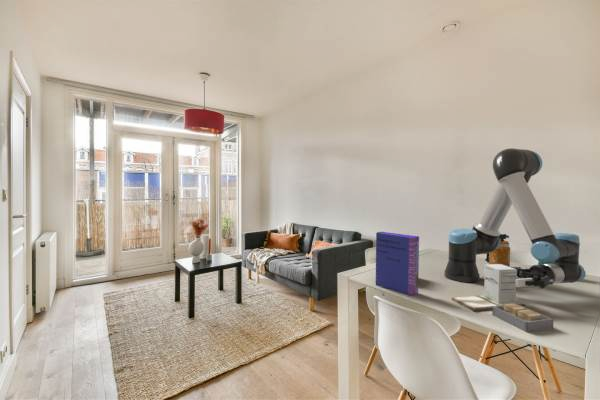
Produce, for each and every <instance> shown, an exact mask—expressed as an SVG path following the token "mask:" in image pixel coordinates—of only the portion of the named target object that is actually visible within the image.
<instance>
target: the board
mask: <svg viewBox="0 0 600 400" xmlns="http://www.w3.org/2000/svg"><path fill="white" fill-rule="evenodd" d="M451 301H453V302H455V303H457V304H458V305H461V306H463V307H464V308H467V309H468V310H470V311H472V312H474V313H475V312H485V311H492V307H493V306H501V305H504V304H518V305H520V306H523V307H525V308H526V304H525V303H523V302H520V301H517V300H516V302H511V303H498V302H496V301H494V300H492V299H490V298H488V297H486V296H484V294H481V295H471V296H470V295H469V296H460V297H459V296H457V297H451Z"/></svg>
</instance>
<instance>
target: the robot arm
mask: <svg viewBox="0 0 600 400" xmlns="http://www.w3.org/2000/svg"><path fill="white" fill-rule="evenodd" d="M542 168H543V159H542V157H541V156H540V154H539V153H537V152H535V151H533V150H530V149H526V148H525V149H520V148H505V149H503V150H501V151H499V152H497V154H496V155H495V156H494V157H493V161H492V170H493V173H494V176H495V178H496V181H497V182H498V184H497V186H496V187H495V190H494V191H493V193H492V196H491V197H490V200H489V202H488V204H487V206H486V208H485V211H484V212H483V213H482V216H481V218H480V220H479V222H477V223H475V224H473V227H472V228H456V229H453V230H450V232H449V235H448V261H447V263H446V266H445V269H444V274H443V276H444V277H445V278H447V279H449V280H452V281H456V282H461V283H477V282H479V281H481V280H480V273H479V270H478V267H477V263H476V262H477V255H487V253H489V254H490V252H493V251H495V250H496V249H497V248H498V246H499V243H500V240H499V236H500V234H501V233H500V231H499V229H500V228H501V225H502V224H503V222H504V220H505V218H506V216H507V214H508V212H509V211H510V209H511V207H512V206H513V207H514V210H515V211H516V214H517V216H518V218H519V219H520V221H521V223H522V226H523V228H524V229H525V231H526V232H525V233H526V234H527V236H528V238H529V240H530V242H531V244H532V245H531V247H530V254H531V256H532V257H533V258H534V259H535V260H537V261H538V260H539V261H542V262H548V261H550V262H552V261H553V264H543V265H538V264H534V265H531V266H530V268H522V267H519V266H514V267H513V266H510V267H511V268H514V269H517V279H516V283H515V287H516V288H524V287H537V288H538V287H539V288H541V289H545V288H546V287H547V286H549V285H551V286H552V285H555V284H567V283H569V284H570V283H576V282H581V281H582V280H584V279H585V278H586V270H585V269H584V267H583V266H582V265H581V264H580V246H581V242H580V236H579V235H577V234H574V233H568V232H567V233H566V232H564V233H563V232H556V233H554V232H553V230H552V228H551V227H550V224H549V223H548V220H547V218H546V217H545V215H544V212H543V211H542V209H541V207H540V205H539V204H538V201H537V199H536V197H535V196H534V193H533V192H532V190H531V187H530V186H529V184H528V183H530V182H529V181H530V180H531V178H532V176H533V177H534V176H535V175H536V174H539V172H540V171H541V170H542ZM483 276H485V268H484V269H483Z"/></svg>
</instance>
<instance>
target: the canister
mask: <svg viewBox="0 0 600 400" xmlns="http://www.w3.org/2000/svg"><path fill="white" fill-rule="evenodd" d="M509 238H510V236H509V235H507V234H506V233H504V234H503V233H502V234H501V233H500V236H499V240H500V243H499V246H498V248H497V249H496V250H495V251H493V252H490V253H487V254H486V258H485V259H484V261H485V262H487V263H488V264H502V265H505V266H508V267H511V247H510V243H509V241H507V239H509Z"/></svg>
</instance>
